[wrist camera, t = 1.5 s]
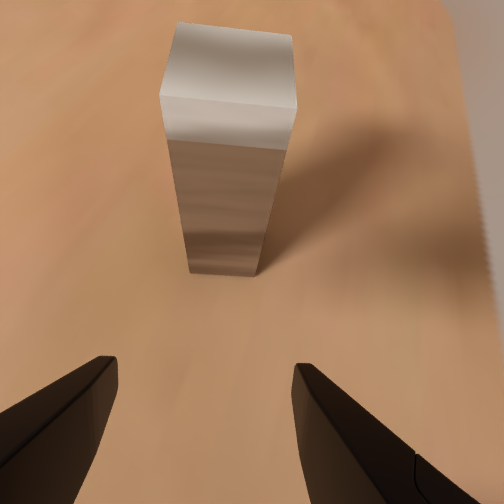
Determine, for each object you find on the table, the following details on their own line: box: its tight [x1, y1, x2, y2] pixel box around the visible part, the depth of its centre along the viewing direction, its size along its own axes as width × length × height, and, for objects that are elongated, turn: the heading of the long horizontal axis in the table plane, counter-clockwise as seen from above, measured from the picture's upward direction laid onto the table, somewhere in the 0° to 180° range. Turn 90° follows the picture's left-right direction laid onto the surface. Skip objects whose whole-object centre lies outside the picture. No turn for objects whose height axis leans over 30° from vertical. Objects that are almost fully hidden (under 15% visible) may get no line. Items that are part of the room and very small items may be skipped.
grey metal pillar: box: [159, 22, 297, 277], centre depth 19 cm, size 5×5×15 cm
